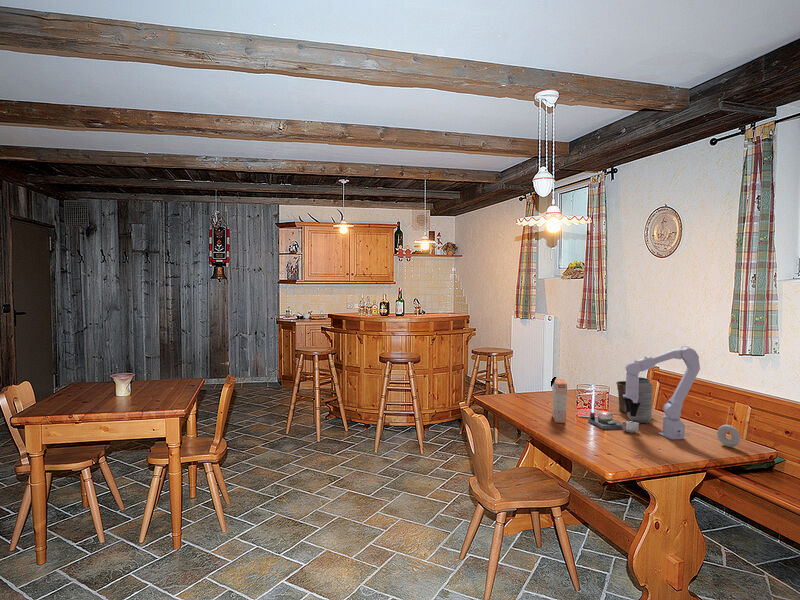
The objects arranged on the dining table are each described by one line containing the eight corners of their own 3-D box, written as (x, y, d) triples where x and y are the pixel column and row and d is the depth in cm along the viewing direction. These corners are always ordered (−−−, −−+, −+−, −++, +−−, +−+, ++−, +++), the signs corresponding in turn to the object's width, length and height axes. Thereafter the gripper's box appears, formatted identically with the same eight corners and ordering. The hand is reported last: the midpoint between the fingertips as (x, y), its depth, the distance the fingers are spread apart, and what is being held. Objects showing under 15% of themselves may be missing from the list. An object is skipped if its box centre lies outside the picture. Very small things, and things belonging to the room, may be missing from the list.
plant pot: (620, 406, 300) (620, 379, 299) (649, 411, 290) (650, 383, 289) (611, 411, 287) (612, 383, 287) (642, 416, 277) (643, 387, 277)
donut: (741, 449, 225) (742, 427, 224) (736, 450, 223) (737, 428, 223) (719, 442, 234) (720, 421, 233) (714, 443, 232) (715, 422, 232)
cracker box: (566, 423, 261) (567, 384, 260) (554, 423, 262) (555, 383, 262) (563, 416, 275) (564, 378, 274) (551, 416, 276) (552, 378, 275)
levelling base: (624, 428, 254) (625, 417, 253) (602, 429, 252) (602, 417, 252) (609, 421, 267) (609, 410, 267) (588, 421, 266) (588, 410, 265)
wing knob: (638, 431, 249) (639, 421, 249) (637, 433, 245) (638, 423, 245) (623, 428, 253) (623, 419, 252) (622, 431, 248) (622, 421, 248)
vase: (646, 418, 273) (647, 377, 272) (655, 425, 261) (656, 381, 260) (624, 418, 274) (625, 376, 273) (631, 424, 263) (633, 380, 262)
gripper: (620, 383, 256) (619, 409, 256) (626, 389, 241) (626, 417, 242) (635, 384, 254) (634, 410, 255) (642, 390, 240) (641, 418, 241)
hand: (631, 414), depth 248 cm, fingers open, 7 cm apart
